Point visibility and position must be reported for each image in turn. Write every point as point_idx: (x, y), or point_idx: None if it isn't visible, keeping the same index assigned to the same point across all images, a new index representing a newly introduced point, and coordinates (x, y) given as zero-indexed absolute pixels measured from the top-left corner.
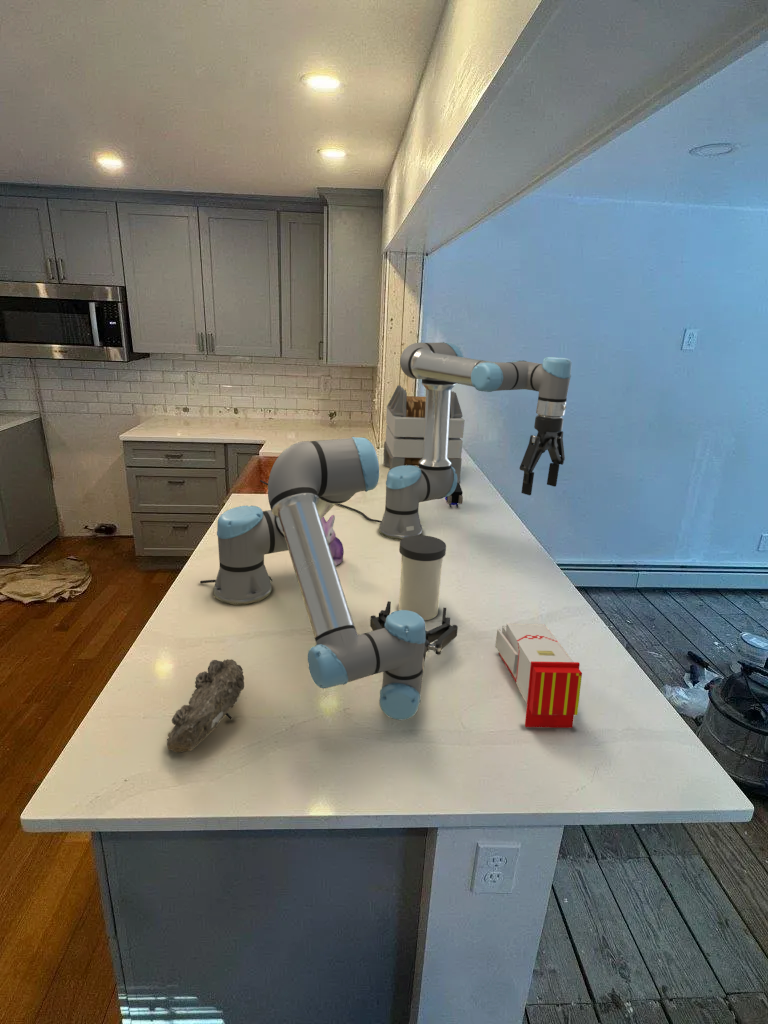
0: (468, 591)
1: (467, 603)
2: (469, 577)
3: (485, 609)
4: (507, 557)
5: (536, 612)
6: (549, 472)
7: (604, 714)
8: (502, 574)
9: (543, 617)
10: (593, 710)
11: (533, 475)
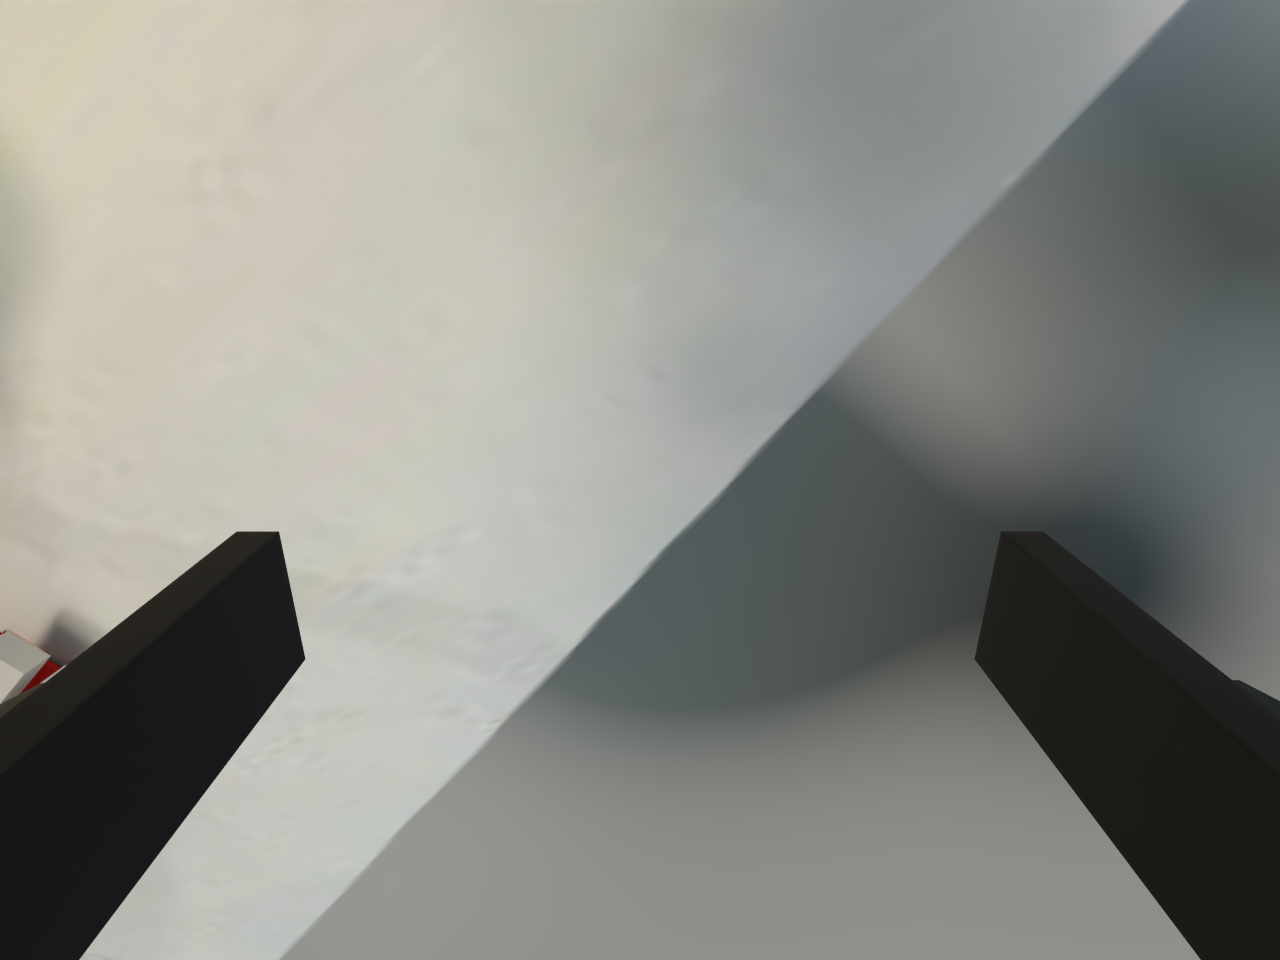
0: (228, 240)
1: (139, 320)
2: (353, 128)
3: (181, 411)
4: (783, 104)
5: (366, 564)
6: (1139, 679)
7: None
8: (548, 238)
9: (358, 600)
10: None
11: (60, 957)
